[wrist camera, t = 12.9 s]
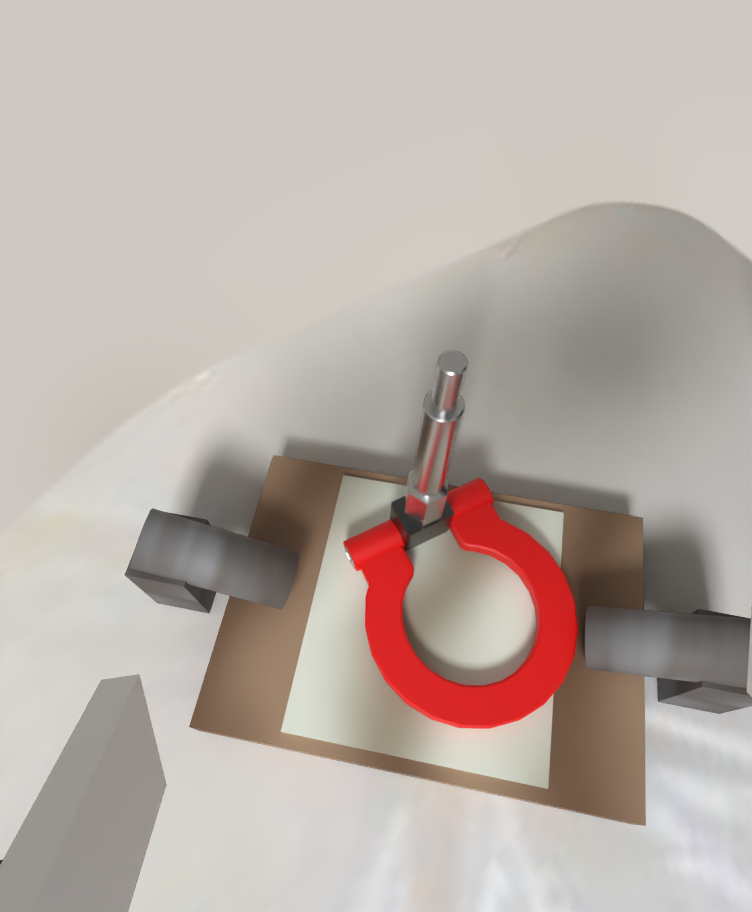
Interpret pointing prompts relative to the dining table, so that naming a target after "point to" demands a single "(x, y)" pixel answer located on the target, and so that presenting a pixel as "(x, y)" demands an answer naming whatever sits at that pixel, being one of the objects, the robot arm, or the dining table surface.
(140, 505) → the dining table surface
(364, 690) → the shaft stand
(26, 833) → the robot arm
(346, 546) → the tow hook
